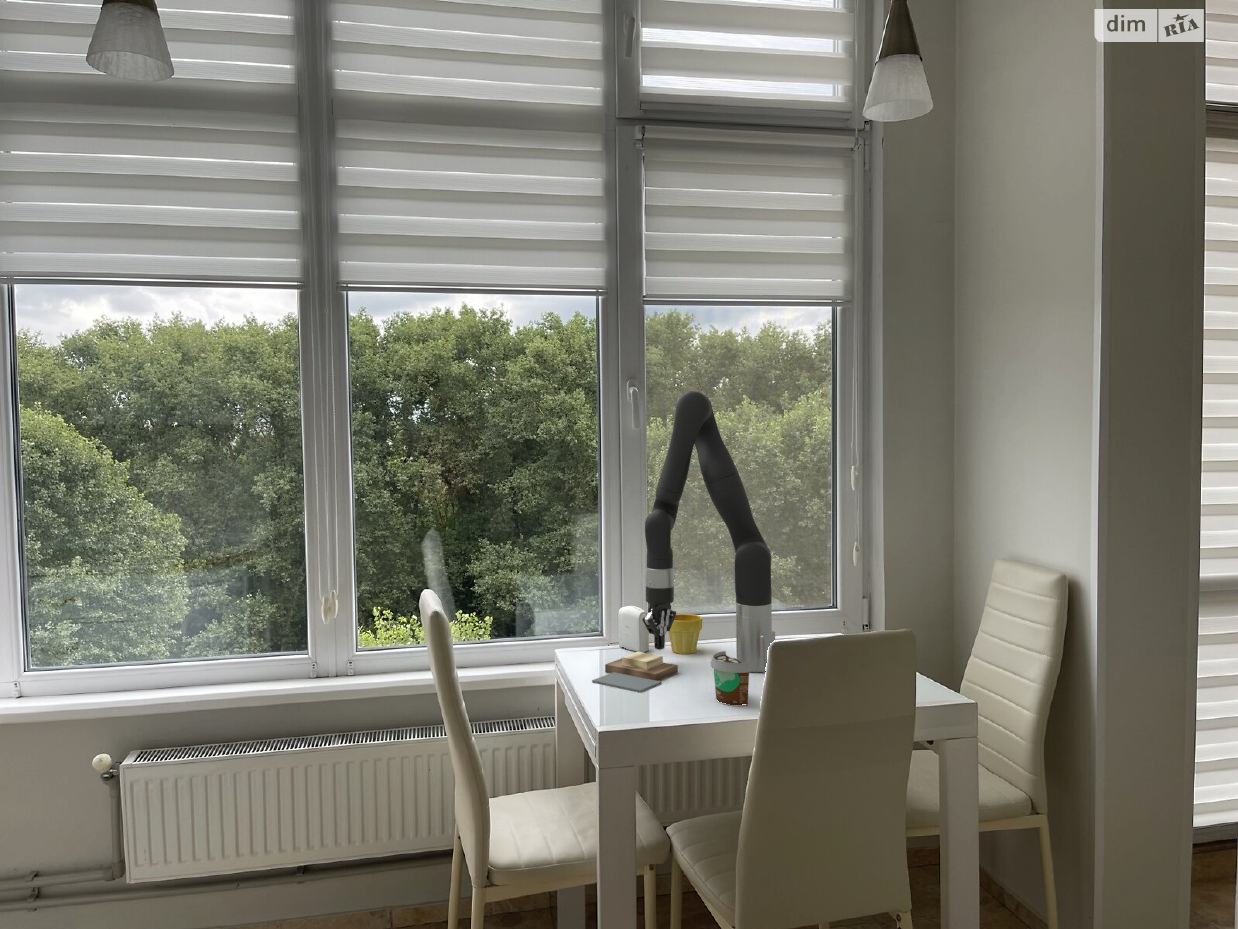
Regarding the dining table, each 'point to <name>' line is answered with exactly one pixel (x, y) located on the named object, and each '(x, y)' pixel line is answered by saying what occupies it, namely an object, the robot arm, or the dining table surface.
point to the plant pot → (685, 633)
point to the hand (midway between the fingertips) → (659, 648)
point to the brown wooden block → (643, 670)
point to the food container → (730, 679)
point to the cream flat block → (642, 660)
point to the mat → (627, 682)
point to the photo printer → (633, 629)
